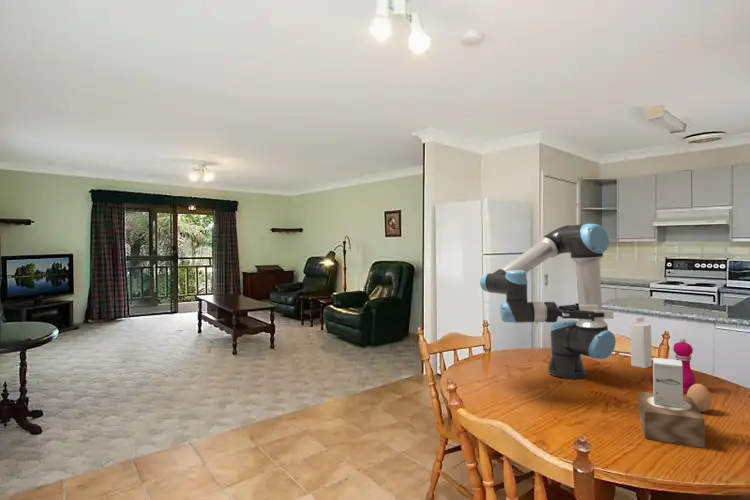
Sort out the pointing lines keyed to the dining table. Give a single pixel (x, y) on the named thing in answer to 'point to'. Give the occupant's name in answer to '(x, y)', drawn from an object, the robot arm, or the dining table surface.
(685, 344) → the pepper mill
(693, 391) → the egg
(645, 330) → the milk
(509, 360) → the dining table surface
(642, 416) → the walnut riser
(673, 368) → the supplement box
